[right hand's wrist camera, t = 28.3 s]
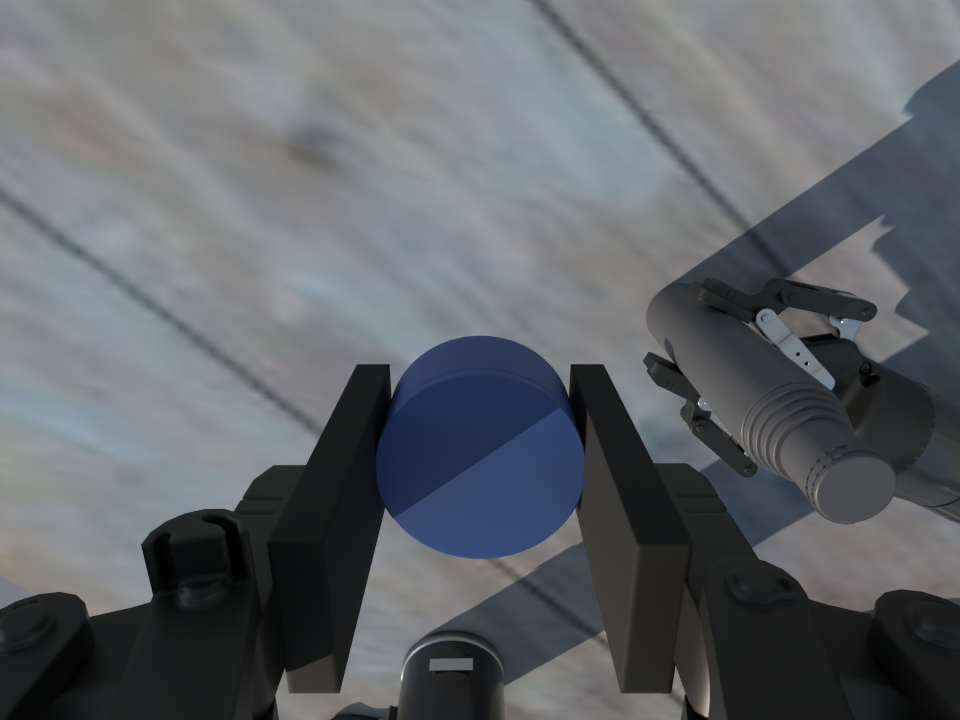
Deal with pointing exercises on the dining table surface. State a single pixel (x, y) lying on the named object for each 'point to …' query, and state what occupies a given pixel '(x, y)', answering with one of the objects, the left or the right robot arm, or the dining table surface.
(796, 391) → the bottle
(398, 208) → the dining table surface
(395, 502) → the cap
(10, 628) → the right robot arm
